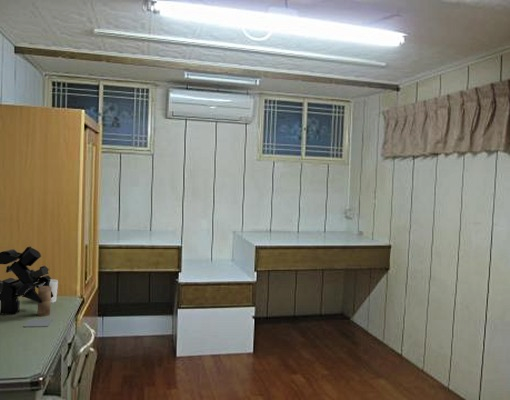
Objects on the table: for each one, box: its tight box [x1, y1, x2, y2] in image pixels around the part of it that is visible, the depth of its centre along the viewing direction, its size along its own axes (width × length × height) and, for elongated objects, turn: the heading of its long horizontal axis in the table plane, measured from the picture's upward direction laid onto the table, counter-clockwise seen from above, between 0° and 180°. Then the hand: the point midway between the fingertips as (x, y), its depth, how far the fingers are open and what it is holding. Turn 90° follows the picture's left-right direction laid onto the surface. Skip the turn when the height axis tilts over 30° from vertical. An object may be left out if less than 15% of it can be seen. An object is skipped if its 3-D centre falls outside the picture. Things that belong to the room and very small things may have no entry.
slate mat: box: [23, 318, 54, 328], centre depth 189 cm, size 9×9×1 cm
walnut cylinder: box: [37, 286, 52, 317], centre depth 201 cm, size 5×5×12 cm
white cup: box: [49, 278, 59, 304], centre depth 222 cm, size 8×8×10 cm
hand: (47, 299), depth 201 cm, fingers open, 9 cm apart
